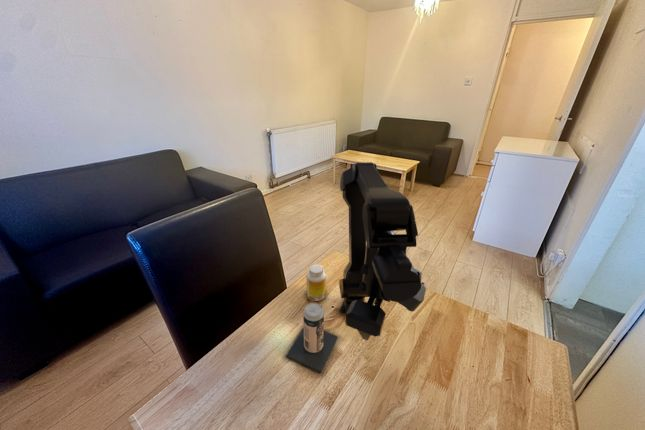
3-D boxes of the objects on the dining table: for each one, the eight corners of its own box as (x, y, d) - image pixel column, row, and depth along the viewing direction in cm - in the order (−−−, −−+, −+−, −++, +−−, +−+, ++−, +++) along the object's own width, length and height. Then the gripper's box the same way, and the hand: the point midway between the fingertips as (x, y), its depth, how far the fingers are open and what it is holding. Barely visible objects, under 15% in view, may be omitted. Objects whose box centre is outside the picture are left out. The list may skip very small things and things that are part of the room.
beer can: (323, 354, 61) (324, 317, 56) (303, 354, 61) (302, 317, 56) (323, 336, 66) (324, 301, 60) (304, 336, 66) (303, 301, 60)
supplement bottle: (328, 298, 78) (329, 271, 73) (311, 304, 76) (311, 276, 71) (320, 286, 83) (320, 260, 78) (304, 291, 80) (303, 265, 76)
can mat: (306, 325, 69) (306, 323, 69) (337, 337, 66) (337, 336, 66) (286, 356, 61) (286, 355, 61) (320, 373, 58) (321, 371, 58)
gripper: (419, 311, 37) (402, 379, 44) (431, 247, 52) (417, 305, 59) (346, 287, 41) (341, 352, 48) (377, 234, 56) (370, 289, 63)
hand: (371, 322), depth 55 cm, fingers open, 9 cm apart
